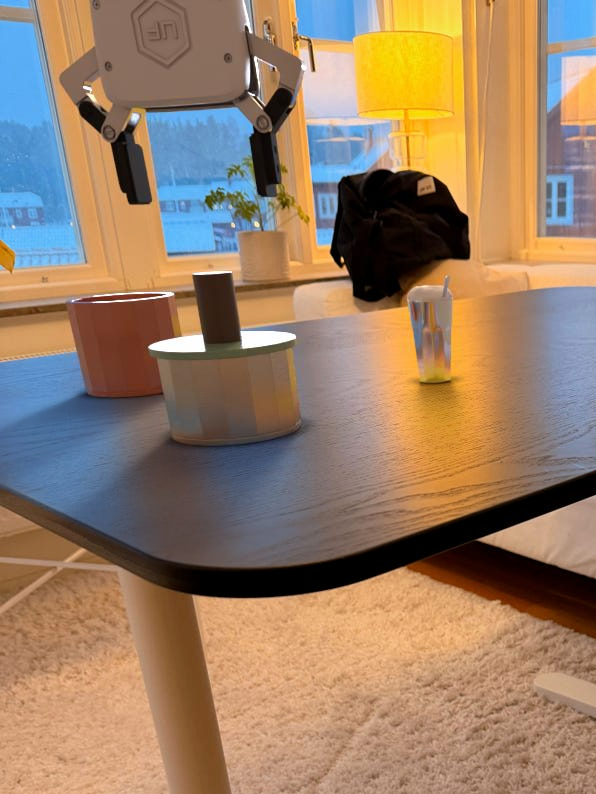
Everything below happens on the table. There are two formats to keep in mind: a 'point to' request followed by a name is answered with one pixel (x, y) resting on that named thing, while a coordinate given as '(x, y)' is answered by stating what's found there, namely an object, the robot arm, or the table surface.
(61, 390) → the table surface
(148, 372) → the cup
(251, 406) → the tin
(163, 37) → the robot arm
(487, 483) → the table surface
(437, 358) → the milkshake
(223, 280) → the lid
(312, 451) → the table surface
